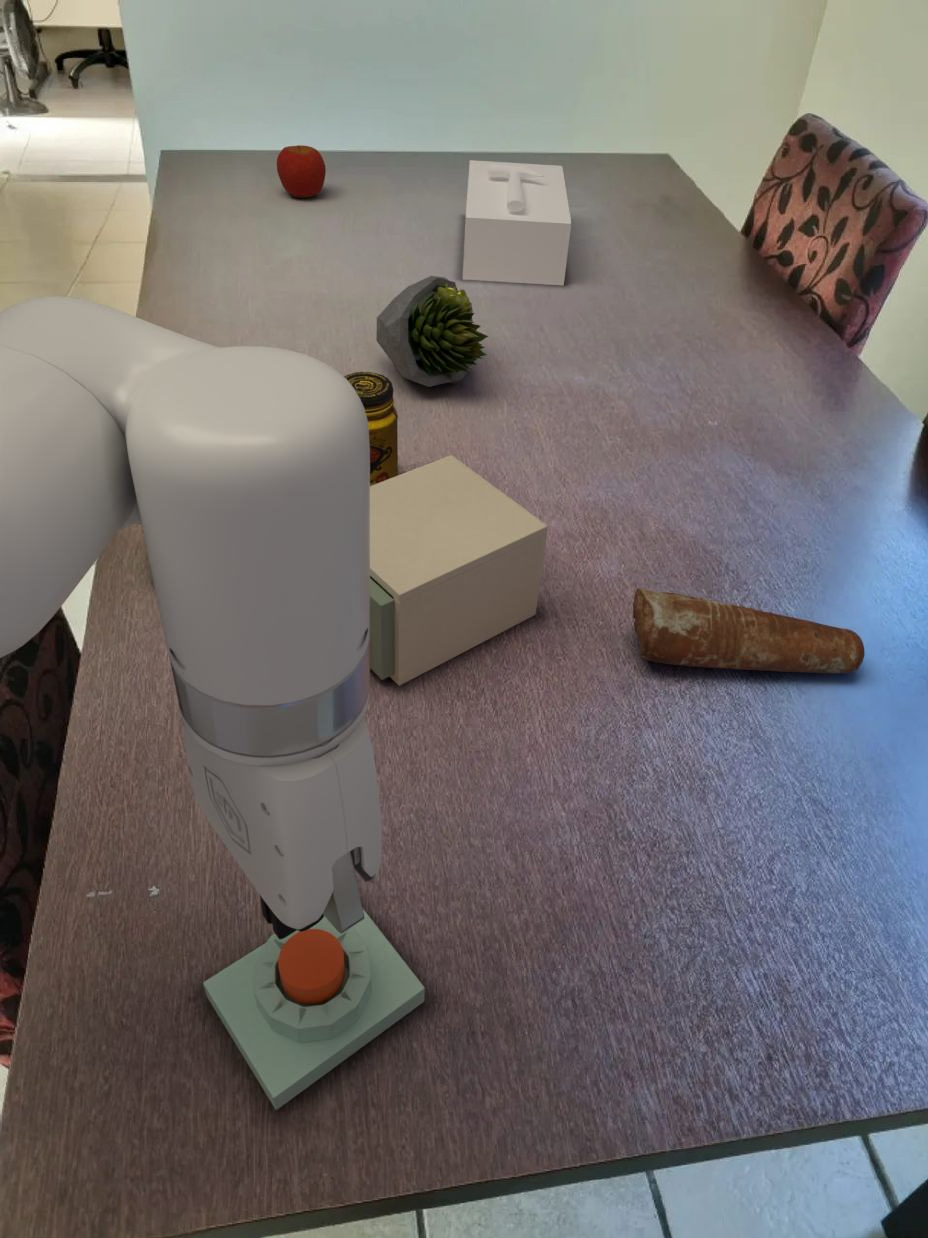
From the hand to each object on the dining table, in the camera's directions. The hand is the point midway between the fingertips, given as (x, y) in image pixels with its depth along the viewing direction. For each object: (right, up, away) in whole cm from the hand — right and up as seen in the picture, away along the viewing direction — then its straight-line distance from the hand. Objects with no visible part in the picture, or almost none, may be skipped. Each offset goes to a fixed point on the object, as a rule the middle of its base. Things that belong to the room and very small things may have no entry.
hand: (297, 913), depth 49 cm
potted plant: (+6, +44, +63) cm, 77 cm away
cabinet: (+5, +16, +32) cm, 37 cm away
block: (0, -7, +6) cm, 9 cm away
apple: (-18, +85, +107) cm, 138 cm away
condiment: (-1, +28, +45) cm, 54 cm away
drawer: (+2, +15, +30) cm, 34 cm away
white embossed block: (+16, +72, +94) cm, 119 cm away
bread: (+32, +12, +30) cm, 45 cm away
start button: (0, -5, +4) cm, 6 cm away
